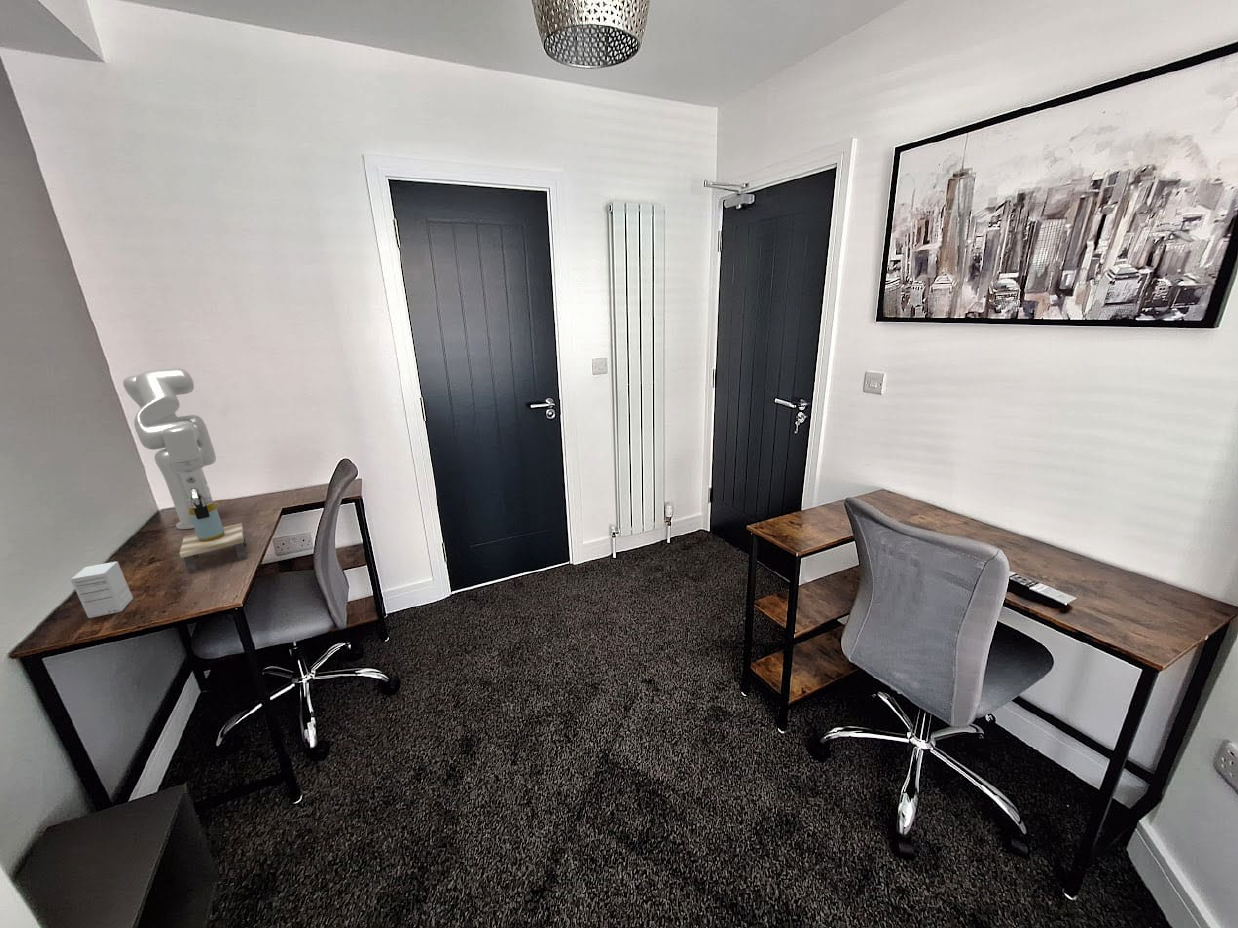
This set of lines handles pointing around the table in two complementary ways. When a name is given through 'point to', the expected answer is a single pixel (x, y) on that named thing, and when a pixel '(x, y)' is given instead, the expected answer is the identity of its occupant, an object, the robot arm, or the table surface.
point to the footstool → (212, 545)
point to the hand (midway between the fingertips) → (204, 513)
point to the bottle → (207, 521)
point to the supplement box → (102, 589)
